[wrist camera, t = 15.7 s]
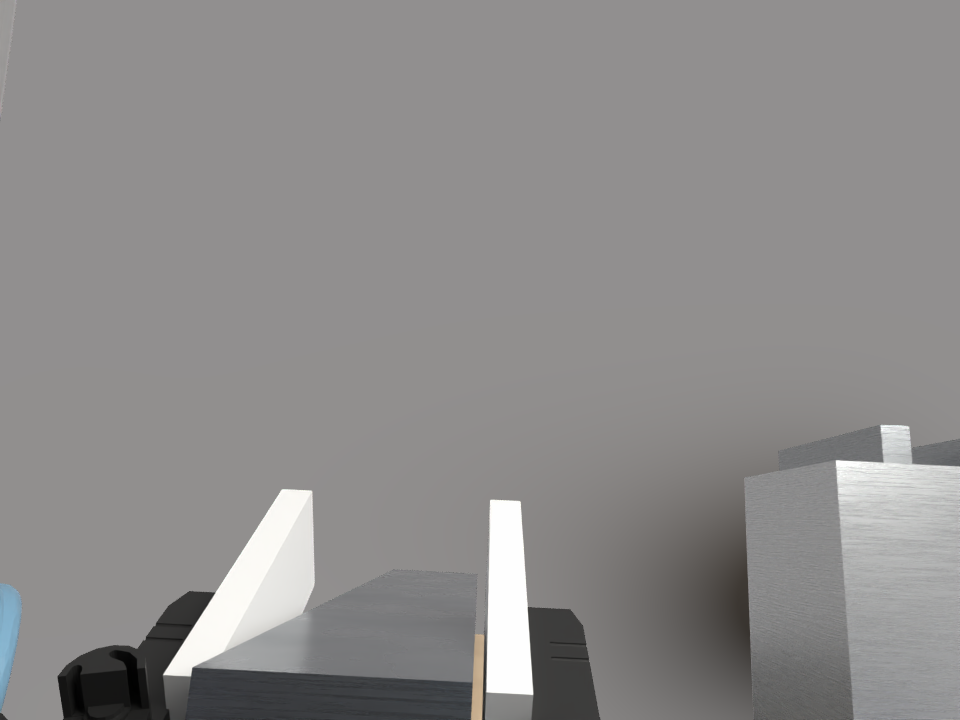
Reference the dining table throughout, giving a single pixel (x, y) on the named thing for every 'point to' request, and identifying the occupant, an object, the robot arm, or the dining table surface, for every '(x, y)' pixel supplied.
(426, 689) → the bar
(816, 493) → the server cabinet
